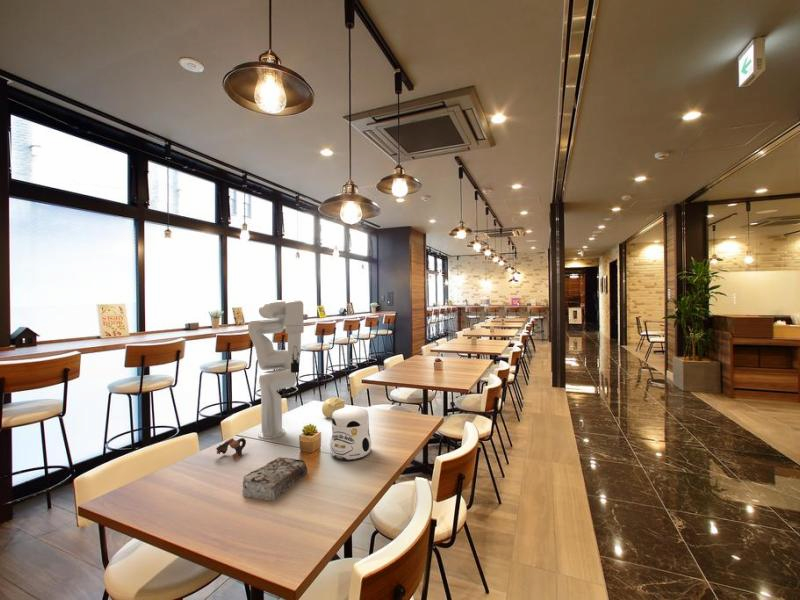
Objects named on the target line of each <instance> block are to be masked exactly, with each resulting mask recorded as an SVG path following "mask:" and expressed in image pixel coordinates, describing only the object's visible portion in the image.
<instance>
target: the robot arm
mask: <svg viewBox="0 0 800 600" xmlns="http://www.w3.org/2000/svg"><path fill="white" fill-rule="evenodd" d="M258 313H259V316H261V317H256V318H253V319H250V321H249V322H248V325H247V329H248V330H247V331H248V335H249V337H250V340H251V342H252V344H253V345H254V349H255V354H256V359H257V363H258V366H259V369H260V370H263V371H264V372H262V373H261V374H260V375H259V377H258V383H259V389H260V400H261V401H260V402H261V405H260V407H261V409H260V410H261V411H260V413H261V431H259V432H258V435H257V436H258V438H259V439H261V440H272V439H278V438H281V437H282V436H284V435H285V434H286V429H285V428H283V407H282V406H283V403H282V402H283V399H282V396H281V395H280V393H279V392H277V391H278V390H283V389H287V388H289V389H290V388H292V387H294V386H295V385H296V382H297V375H296V373H300V372H299V371H300V363H299V357H300V356H301V348H302V337H301V336H302V335H301V334H303V333H304V332H305V330H304V327H305V325H304V302H303V301H301V300H296V299H295V300H294V299H293V300H292V299H283V300H281V299H278V300H277V299H276V300H267V301H265V302H264V303H262V304H261V305H260V306H259V308H258ZM284 330H285V334H287V350H285V349H279V350H276V349H274V345H273V342H272V340H270V338H268V337H267V336H266V335H265V334H267V335H269V334H279V333H282V332H284Z"/></svg>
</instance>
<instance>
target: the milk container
mask: <svg viewBox="0 0 800 600" xmlns="http://www.w3.org/2000/svg"><path fill="white" fill-rule="evenodd" d="M369 418H370V417H369V411H368V409H366V408H363V407H357V406H353V407H351V406H347V407H344V408H342V409H338V410H336V411H334V412H333V415H332V418H331V422H332V423H331V437H330V443H329V449H330V453H331V455H332V456H333V458H335V459H337V460H340V461H347V462H348V461H349V462H350V461H351V462H352V461H357V460H360V459H363V458H364V457H366V456H368V455H369V453H370V452H371V449H372V438H371V436H370V420H369Z"/></svg>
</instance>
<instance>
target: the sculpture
mask: <svg viewBox="0 0 800 600" xmlns="http://www.w3.org/2000/svg"><path fill="white" fill-rule="evenodd" d="M345 404H346V403H345V400H343V399H342V398H339V397H337V396H333V397H330V398H327V399H326V400H325V401H324V402H323V404H322V407H321V412H322V415H323V416H324V417H325V418H327V419H332V415H333V412H334V411H336V410H338V409H342V408H345V407H346V406H345Z"/></svg>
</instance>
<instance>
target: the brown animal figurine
mask: <svg viewBox="0 0 800 600" xmlns="http://www.w3.org/2000/svg"><path fill="white" fill-rule="evenodd" d="M246 444H247V440H246V439H245V438H244V437H241V438H238V439H236V440H235V439H234V438H233V437H232V438H231V437H230V439H228V440H227V441H225V442H223V443H222V444H219V445H218V446H217V447H216V448H215V449H216V455H217V454H218V455H221V453H222V455H225V454H227V451H228V447H229V446H230V448H231V449H233V450H235V452H234V453H233V454H232V458H233V460H237V459H239V458H240V457H242V456H243V449H244V448H245V447H246Z"/></svg>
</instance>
